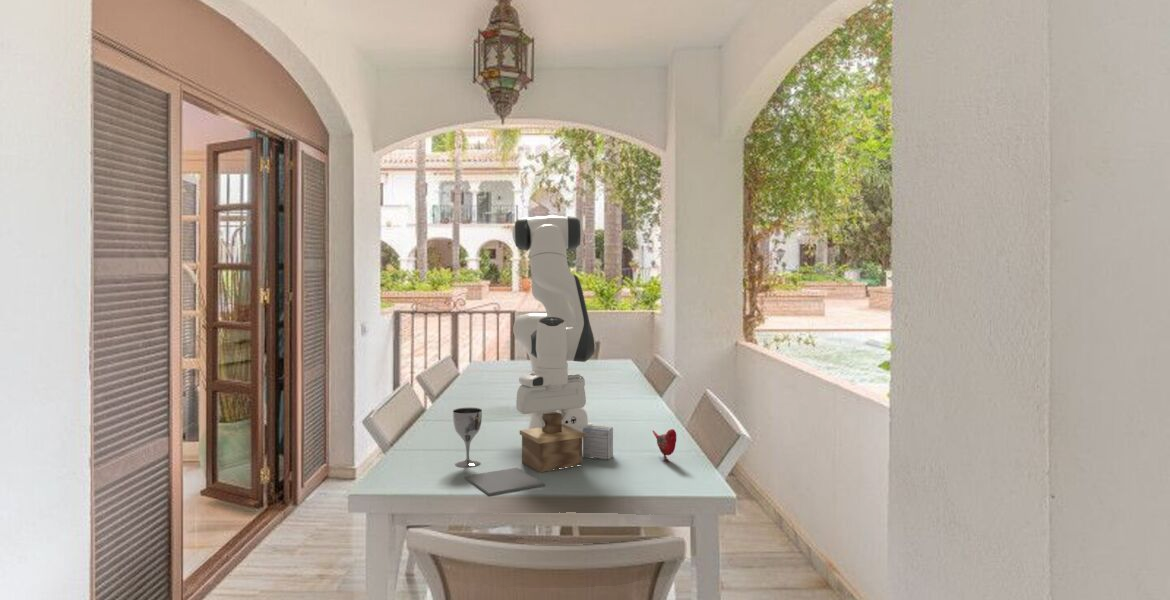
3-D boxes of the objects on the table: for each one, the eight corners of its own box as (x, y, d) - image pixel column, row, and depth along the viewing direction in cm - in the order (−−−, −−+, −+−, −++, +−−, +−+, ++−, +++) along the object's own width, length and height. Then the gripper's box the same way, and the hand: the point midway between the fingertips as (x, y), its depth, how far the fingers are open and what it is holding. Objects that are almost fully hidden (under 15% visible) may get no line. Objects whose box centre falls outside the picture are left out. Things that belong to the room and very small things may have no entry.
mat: (517, 469, 194) (517, 467, 194) (544, 485, 180) (544, 483, 180) (464, 478, 186) (464, 475, 186) (488, 495, 173) (488, 493, 173)
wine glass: (469, 469, 194) (468, 414, 193) (447, 465, 198) (446, 411, 197) (488, 462, 201) (487, 409, 200) (466, 458, 205) (466, 406, 204)
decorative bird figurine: (670, 467, 196) (671, 431, 196) (647, 451, 213) (648, 417, 213) (680, 467, 197) (680, 430, 196) (657, 450, 214) (657, 417, 213)
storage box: (562, 456, 207) (562, 429, 207) (582, 465, 198) (582, 437, 197) (522, 462, 201) (522, 434, 200) (539, 472, 191) (539, 443, 191)
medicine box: (613, 456, 208) (613, 426, 207) (608, 460, 204) (609, 430, 203) (587, 453, 210) (587, 424, 210) (582, 457, 206) (582, 428, 206)
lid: (563, 431, 208) (563, 407, 207) (584, 440, 197) (584, 414, 197) (519, 437, 201) (519, 412, 200) (539, 447, 190) (538, 420, 190)
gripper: (578, 372, 206) (578, 420, 207) (513, 378, 196) (513, 428, 196) (590, 375, 201) (590, 424, 201) (523, 381, 190) (523, 433, 191)
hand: (551, 426), depth 199 cm, fingers open, 4 cm apart
